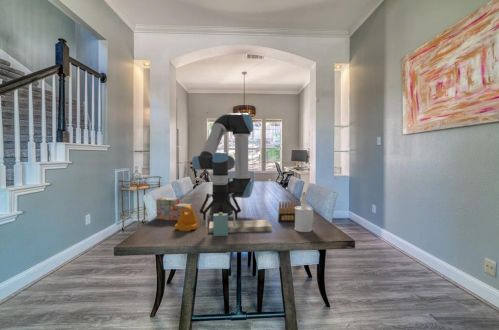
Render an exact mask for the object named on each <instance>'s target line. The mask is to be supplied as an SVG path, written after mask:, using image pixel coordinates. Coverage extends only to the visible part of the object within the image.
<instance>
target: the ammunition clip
mask: <svg viewBox="0 0 499 330" xmlns="http://www.w3.org/2000/svg"><path fill="white" fill-rule="evenodd" d="M278 206H279V207H278V215H277V217H278V218H277V222H278V223H295V207H297V202H296V201H294V203H293V201H291V202H290V201H288V202H287V201H285V202H284V201H282V203H281V201H279V203H278Z"/></svg>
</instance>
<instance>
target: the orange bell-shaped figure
mask: <svg viewBox="0 0 499 330" xmlns="http://www.w3.org/2000/svg"><path fill="white" fill-rule="evenodd" d="M185 209H187V210H188V211H189V213H187V212H186V211H185ZM176 222H177V223H175V225H174V230H179V231H181V232H191V231H192V230H196V229H197V228H198V226H199V221H198V219H197V215H196V213H195V211H194V207H193V206H192V207H191V206H190V205H186V206H184V207H183V208H182V209H181V214H180V217H179V219H178V221H176Z"/></svg>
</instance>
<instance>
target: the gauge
mask: <svg viewBox="0 0 499 330" xmlns="http://www.w3.org/2000/svg"><path fill="white" fill-rule="evenodd" d="M212 217H213V219H212V220H213V233H212V234H213V237H221V236H222V237H224V236H225V237H226V236H229V232H228V221H229V214H228V213H219V214H212Z"/></svg>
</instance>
